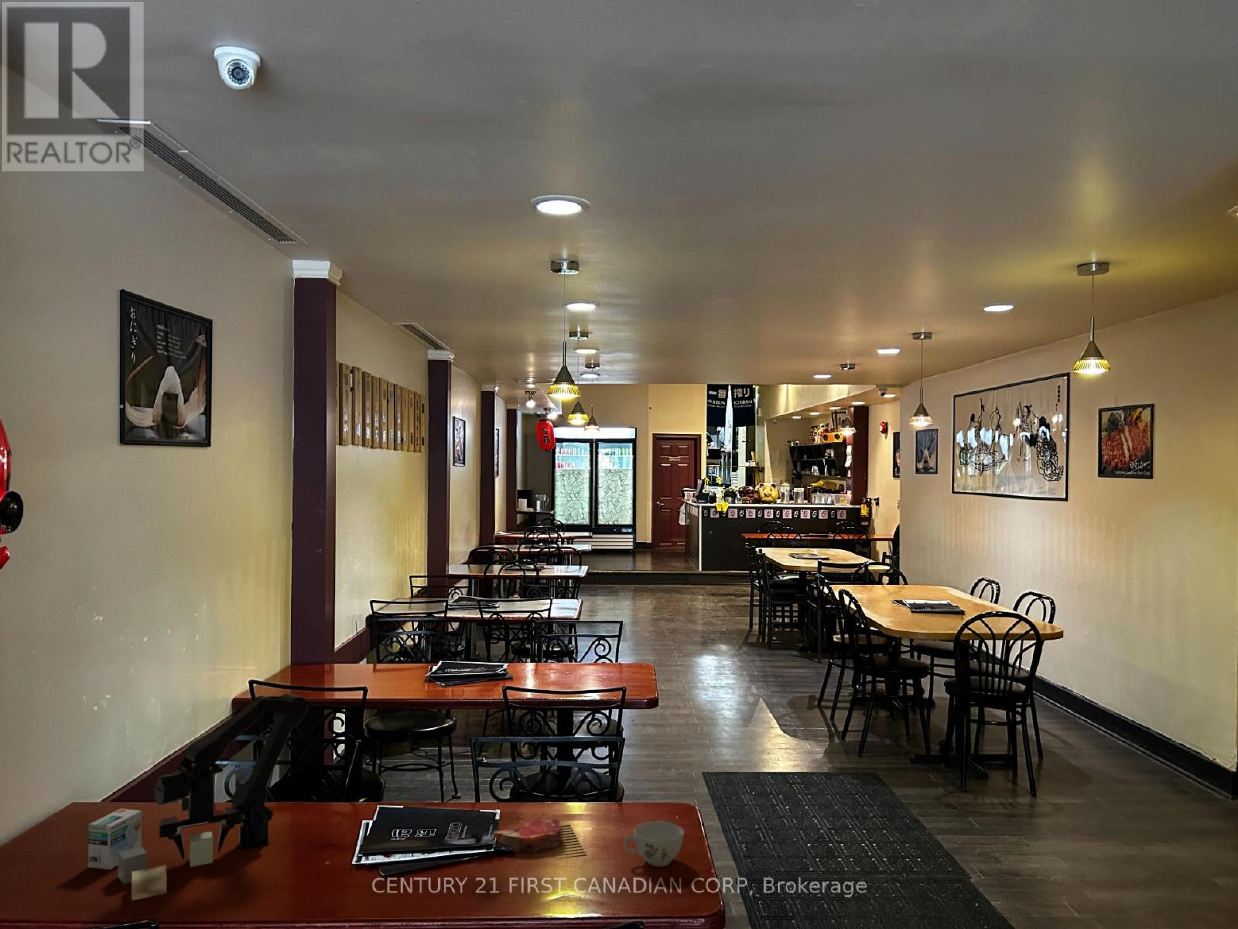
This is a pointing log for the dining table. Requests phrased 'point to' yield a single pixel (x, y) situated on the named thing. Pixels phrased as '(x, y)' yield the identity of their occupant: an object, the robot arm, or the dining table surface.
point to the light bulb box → (113, 837)
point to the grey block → (131, 863)
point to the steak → (538, 837)
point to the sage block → (201, 849)
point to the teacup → (656, 842)
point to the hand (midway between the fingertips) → (201, 855)
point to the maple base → (149, 882)
